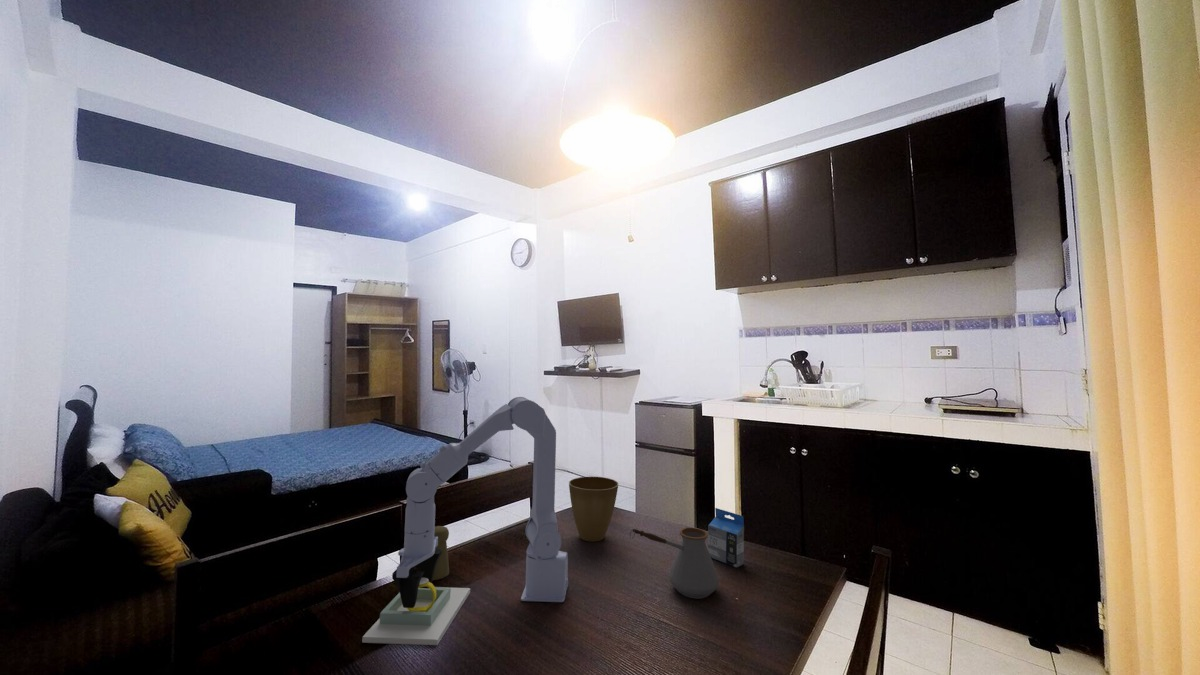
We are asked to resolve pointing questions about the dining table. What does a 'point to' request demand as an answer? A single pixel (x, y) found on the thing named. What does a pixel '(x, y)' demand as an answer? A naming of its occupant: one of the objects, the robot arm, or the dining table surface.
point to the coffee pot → (690, 563)
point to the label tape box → (726, 538)
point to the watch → (426, 582)
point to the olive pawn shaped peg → (442, 563)
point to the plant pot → (592, 505)
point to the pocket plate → (418, 618)
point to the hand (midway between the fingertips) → (417, 596)
